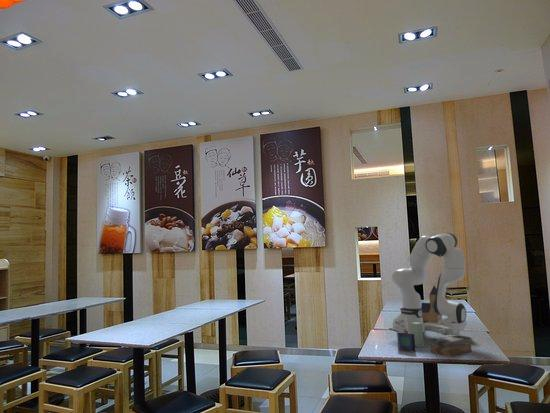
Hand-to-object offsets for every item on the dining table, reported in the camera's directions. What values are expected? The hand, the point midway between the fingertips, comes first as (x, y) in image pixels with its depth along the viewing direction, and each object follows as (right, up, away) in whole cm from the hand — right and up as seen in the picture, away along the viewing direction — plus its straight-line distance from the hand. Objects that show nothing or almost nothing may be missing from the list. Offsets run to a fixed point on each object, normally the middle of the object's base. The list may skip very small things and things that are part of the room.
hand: (430, 330), depth 225 cm
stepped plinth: (+2, -4, -21) cm, 21 cm away
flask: (-18, -6, -15) cm, 25 cm away
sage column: (-9, -6, -7) cm, 13 cm away
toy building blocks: (+21, -12, +54) cm, 59 cm away
